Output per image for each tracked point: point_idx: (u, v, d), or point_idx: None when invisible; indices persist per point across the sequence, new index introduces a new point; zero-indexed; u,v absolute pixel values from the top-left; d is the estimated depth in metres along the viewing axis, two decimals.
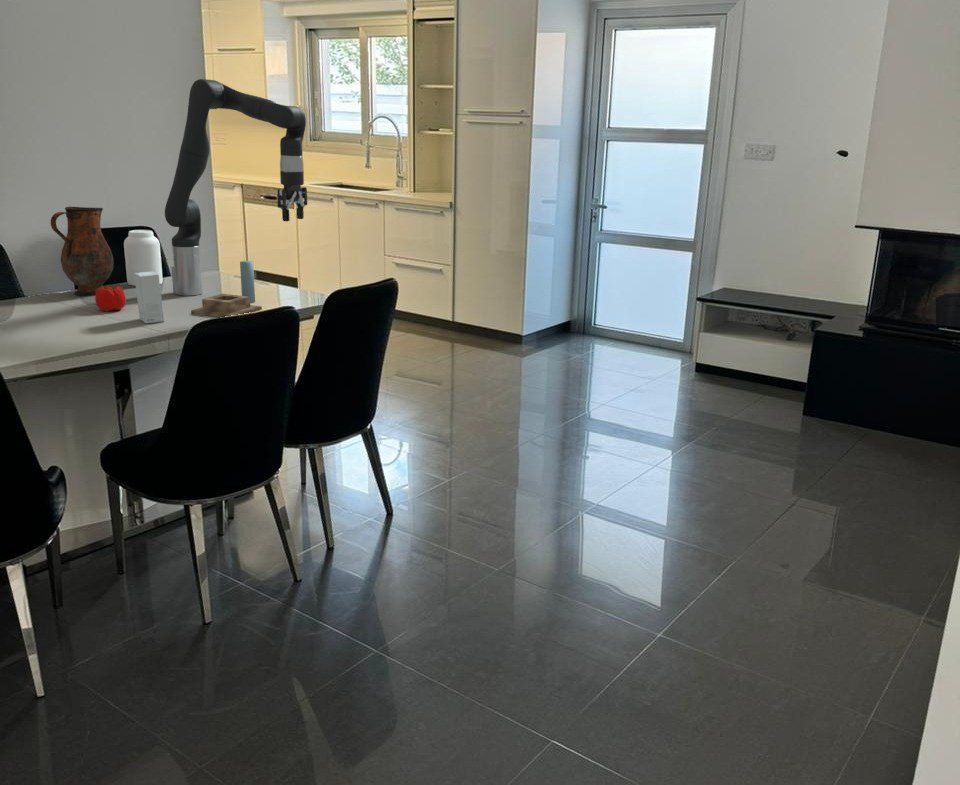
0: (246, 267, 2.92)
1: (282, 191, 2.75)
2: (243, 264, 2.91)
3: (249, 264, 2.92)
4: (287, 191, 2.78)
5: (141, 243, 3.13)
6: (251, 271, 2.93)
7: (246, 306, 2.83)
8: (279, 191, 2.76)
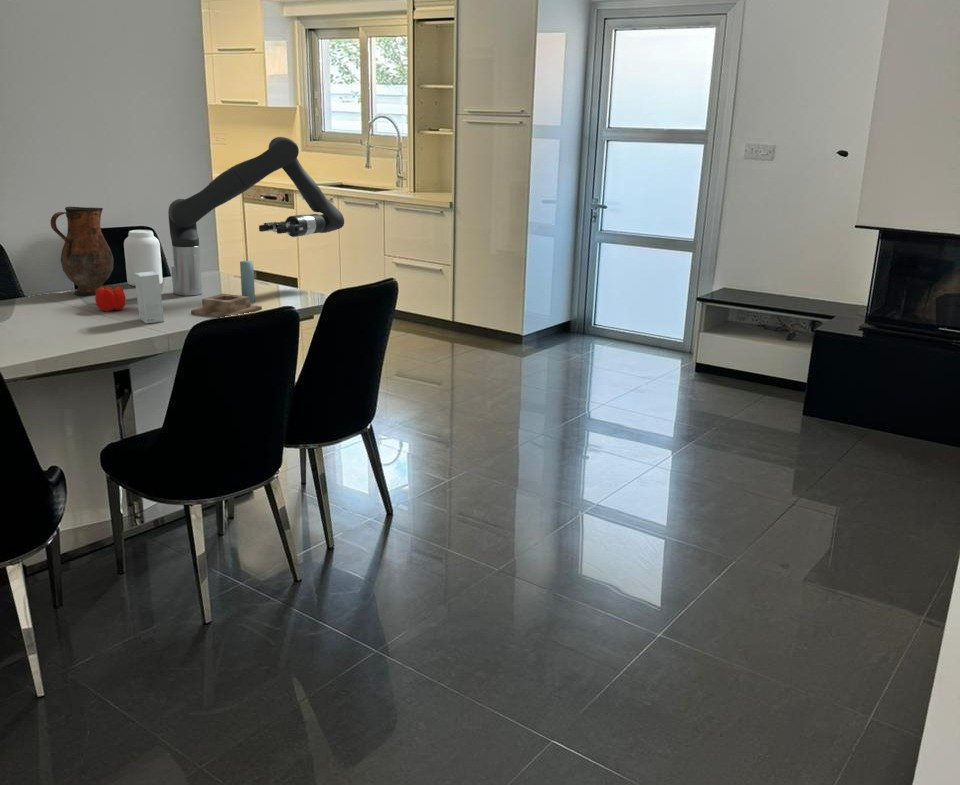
0: (246, 267, 2.92)
1: (302, 230, 3.04)
2: (243, 264, 2.91)
3: (249, 264, 2.92)
4: None
5: (141, 243, 3.13)
6: (251, 271, 2.93)
7: (246, 306, 2.83)
8: (302, 227, 3.03)
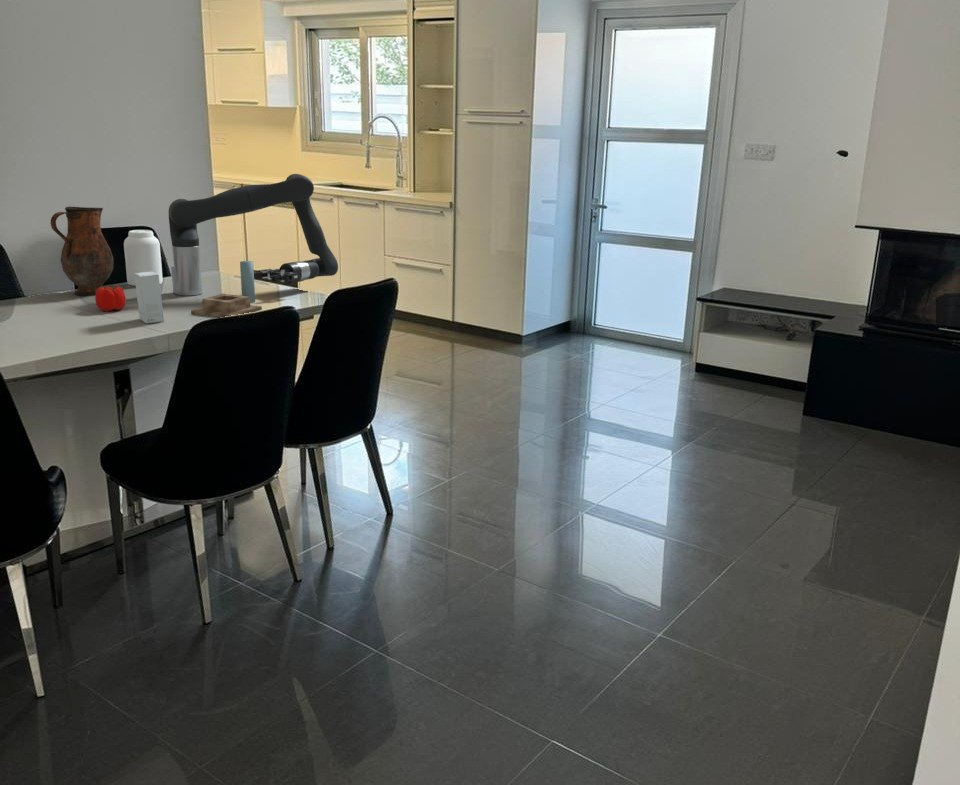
0: (246, 267, 2.92)
1: (296, 278, 3.06)
2: (243, 264, 2.91)
3: (249, 264, 2.92)
4: None
5: (141, 243, 3.13)
6: (251, 271, 2.93)
7: (246, 306, 2.83)
8: (296, 275, 3.06)
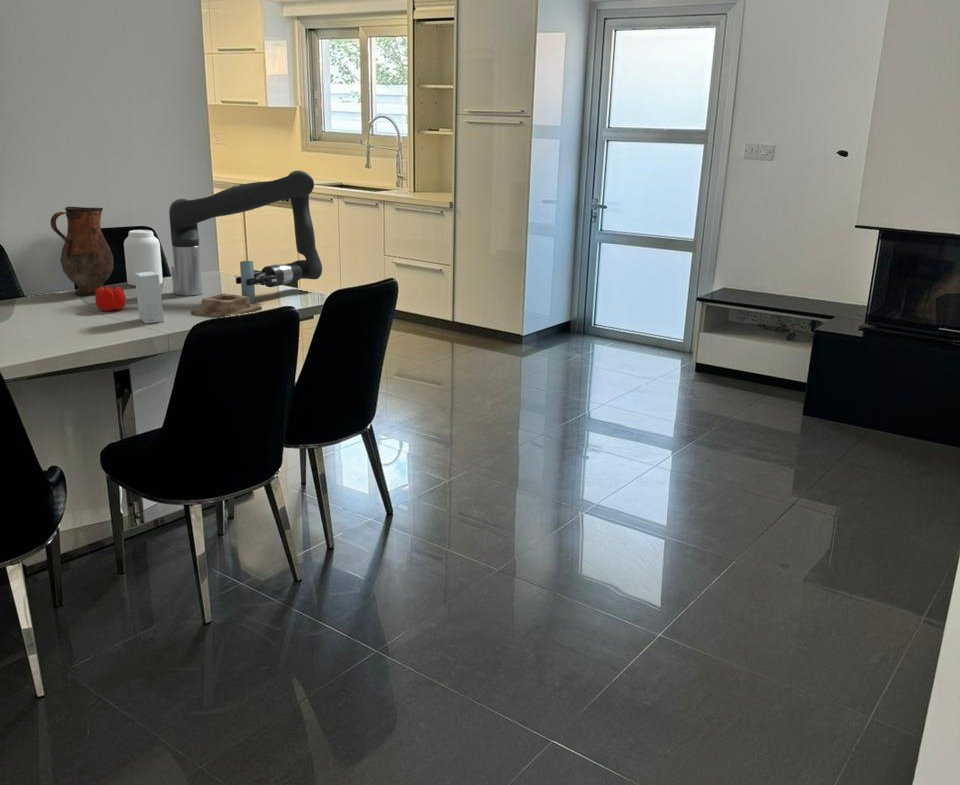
0: (246, 267, 2.92)
1: (275, 282, 2.98)
2: (243, 264, 2.91)
3: (249, 264, 2.92)
4: None
5: (141, 243, 3.13)
6: (251, 271, 2.93)
7: (246, 306, 2.83)
8: (275, 279, 2.97)
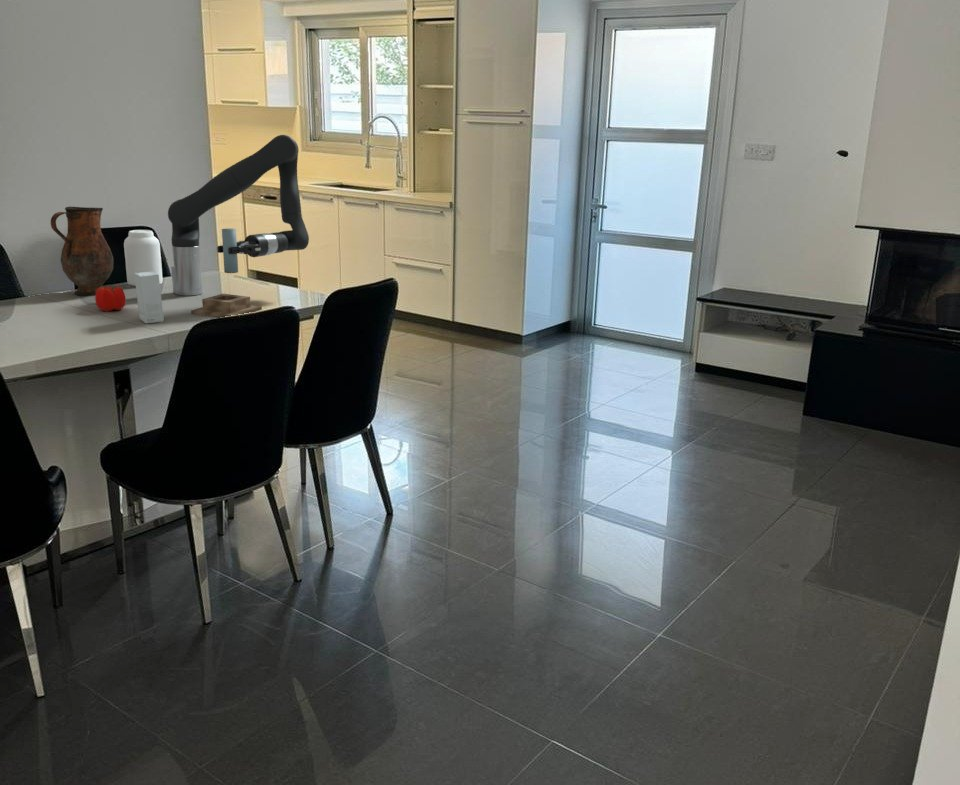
0: (228, 235, 2.76)
1: (259, 251, 2.82)
2: (225, 231, 2.76)
3: (232, 231, 2.77)
4: None
5: (141, 243, 3.13)
6: (234, 239, 2.78)
7: (246, 306, 2.83)
8: (259, 247, 2.82)
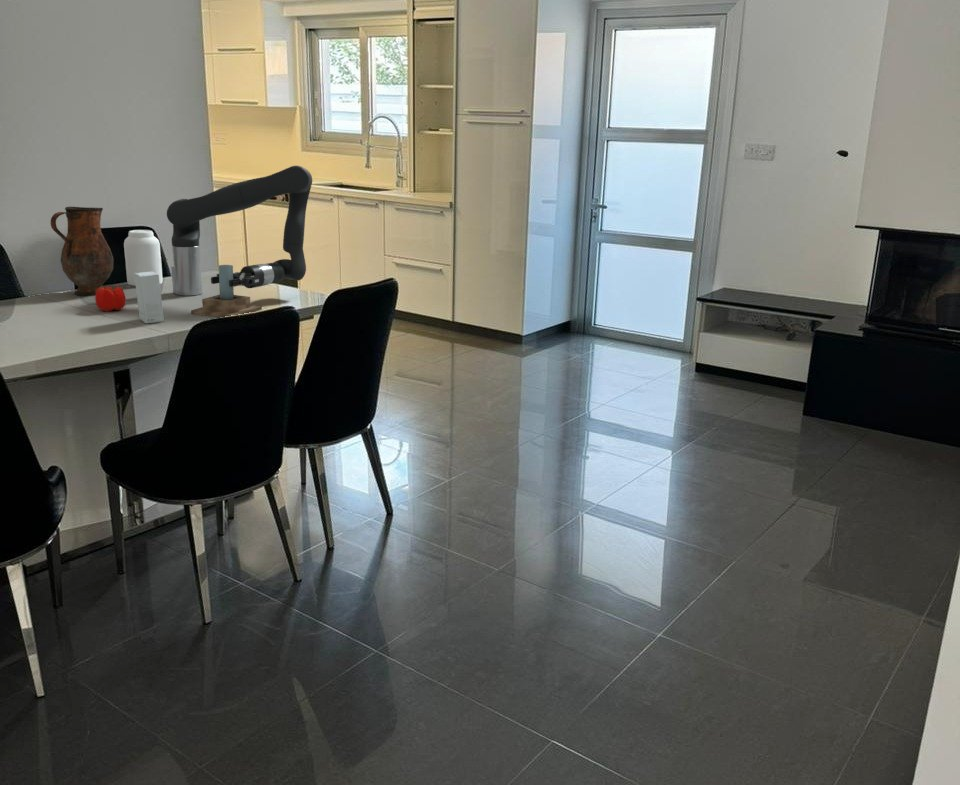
0: (225, 271, 2.76)
1: (257, 282, 2.82)
2: (222, 268, 2.76)
3: (229, 268, 2.77)
4: None
5: (141, 243, 3.13)
6: (230, 276, 2.78)
7: (246, 306, 2.83)
8: (257, 279, 2.82)
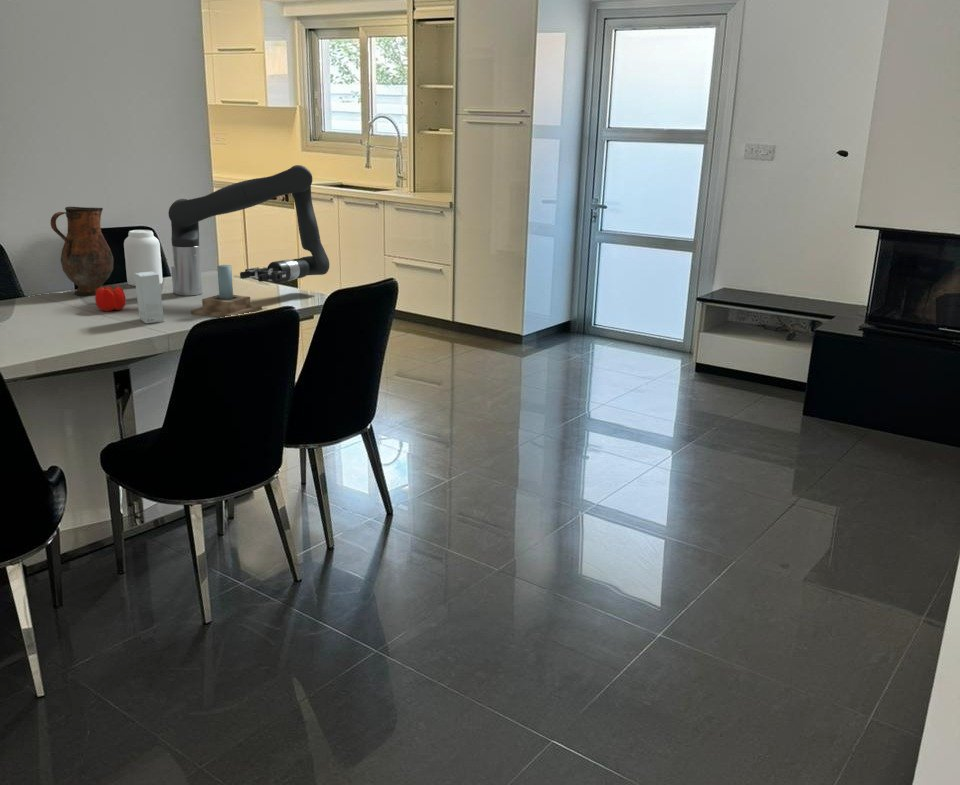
0: (224, 271, 2.76)
1: (285, 277, 2.93)
2: (220, 268, 2.76)
3: (227, 268, 2.76)
4: None
5: (141, 243, 3.13)
6: (229, 276, 2.78)
7: (246, 306, 2.83)
8: (285, 274, 2.92)
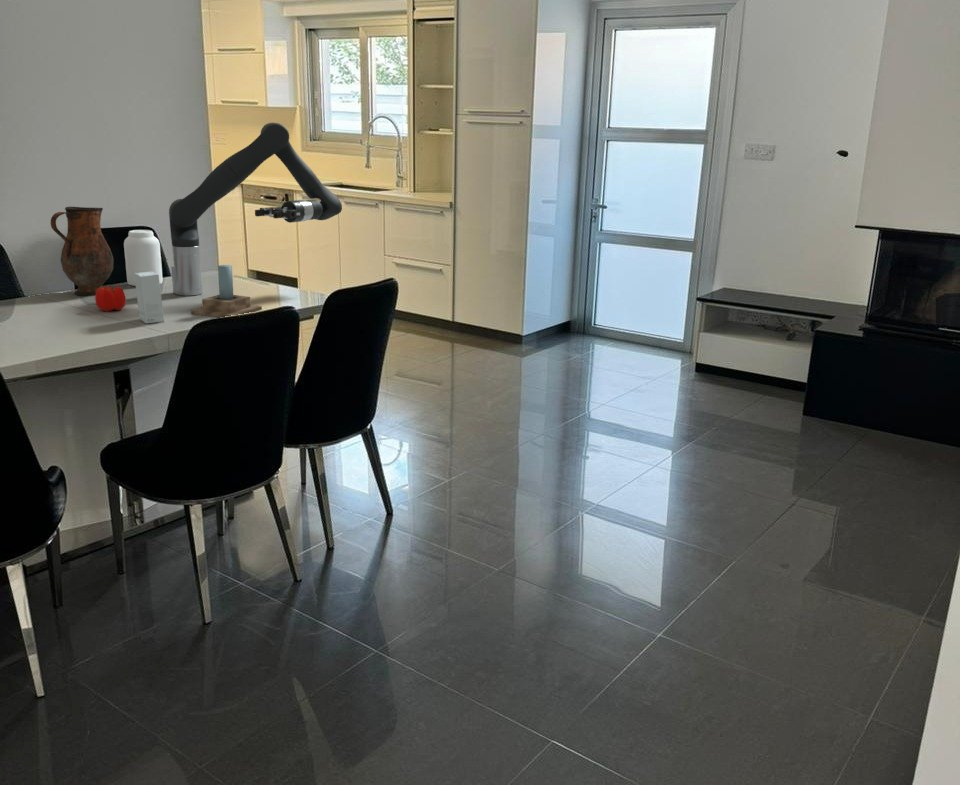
0: (224, 271, 2.76)
1: (299, 215, 2.96)
2: (221, 268, 2.76)
3: (228, 268, 2.76)
4: None
5: (141, 243, 3.13)
6: (230, 276, 2.78)
7: (246, 306, 2.83)
8: (299, 212, 2.96)
